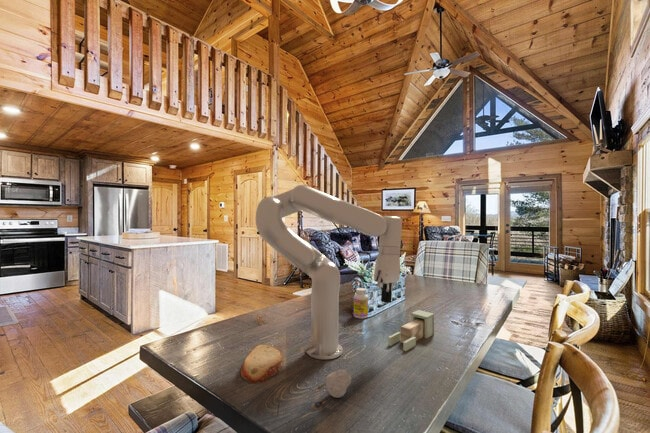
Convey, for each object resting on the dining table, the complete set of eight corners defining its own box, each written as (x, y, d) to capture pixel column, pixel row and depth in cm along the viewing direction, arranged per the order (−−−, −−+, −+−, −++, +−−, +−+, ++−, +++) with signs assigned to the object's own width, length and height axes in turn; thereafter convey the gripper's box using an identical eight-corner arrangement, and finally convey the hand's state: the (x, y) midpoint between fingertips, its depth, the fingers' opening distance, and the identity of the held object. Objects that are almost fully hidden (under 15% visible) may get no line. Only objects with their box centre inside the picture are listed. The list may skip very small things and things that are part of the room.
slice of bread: (266, 348, 111) (266, 337, 111) (300, 365, 98) (300, 353, 98) (219, 366, 97) (219, 354, 97) (253, 388, 85) (253, 374, 85)
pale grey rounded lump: (347, 406, 77) (347, 378, 77) (321, 399, 79) (321, 372, 79) (354, 393, 83) (354, 367, 82) (329, 387, 85) (329, 362, 85)
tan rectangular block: (409, 345, 113) (409, 329, 113) (400, 342, 116) (400, 326, 116) (427, 335, 123) (427, 320, 123) (419, 332, 126) (419, 317, 126)
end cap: (426, 338, 119) (427, 317, 119) (410, 333, 124) (411, 313, 124) (433, 334, 124) (434, 313, 124) (418, 329, 128) (418, 309, 128)
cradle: (405, 351, 108) (405, 342, 108) (388, 345, 113) (388, 336, 113) (415, 345, 113) (415, 337, 113) (398, 339, 118) (398, 331, 118)
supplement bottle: (351, 317, 143) (351, 289, 142) (356, 313, 148) (357, 286, 148) (365, 320, 139) (365, 291, 139) (370, 315, 145) (370, 288, 145)
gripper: (391, 248, 119) (388, 296, 119) (368, 250, 108) (364, 302, 108) (409, 251, 113) (406, 301, 113) (386, 252, 103) (382, 308, 103)
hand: (386, 301), depth 111 cm, fingers closed
